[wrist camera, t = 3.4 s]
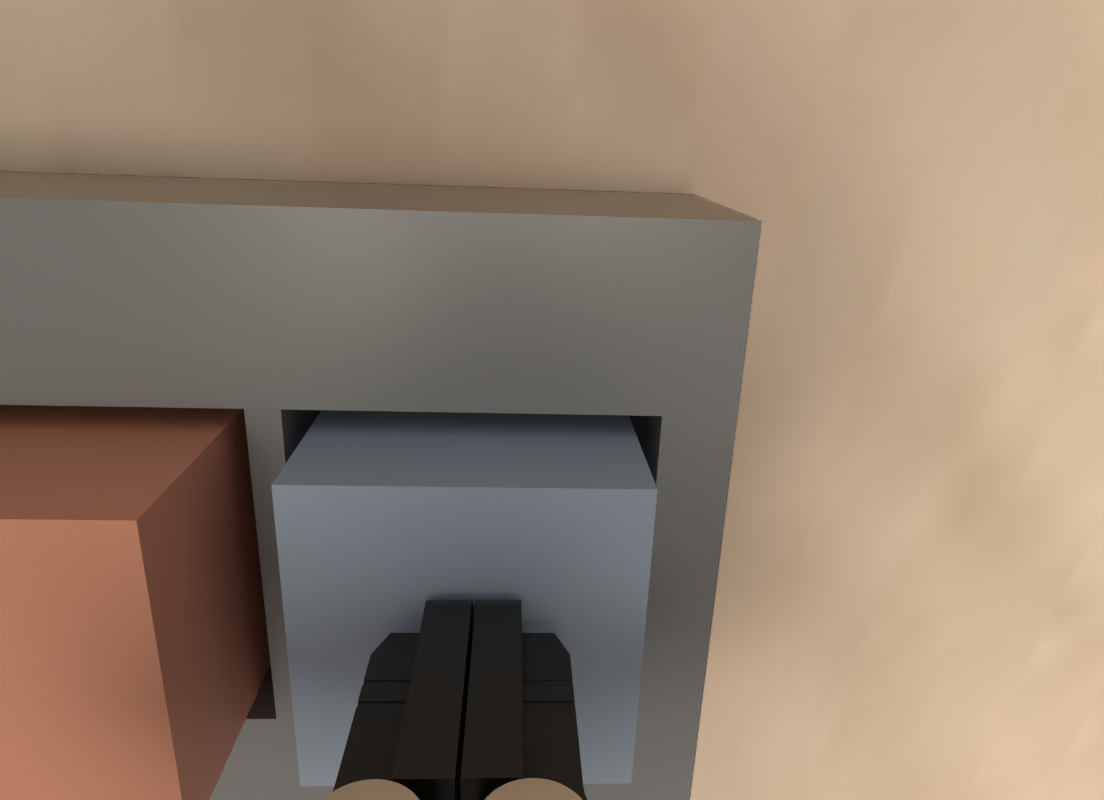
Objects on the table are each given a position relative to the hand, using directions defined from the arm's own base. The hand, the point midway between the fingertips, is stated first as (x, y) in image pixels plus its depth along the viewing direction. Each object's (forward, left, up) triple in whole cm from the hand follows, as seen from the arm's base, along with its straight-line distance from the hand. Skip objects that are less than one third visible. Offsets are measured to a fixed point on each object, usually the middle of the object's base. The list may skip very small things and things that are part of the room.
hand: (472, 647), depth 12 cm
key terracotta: (-7, 0, -3) cm, 8 cm away
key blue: (0, 0, -4) cm, 4 cm away
